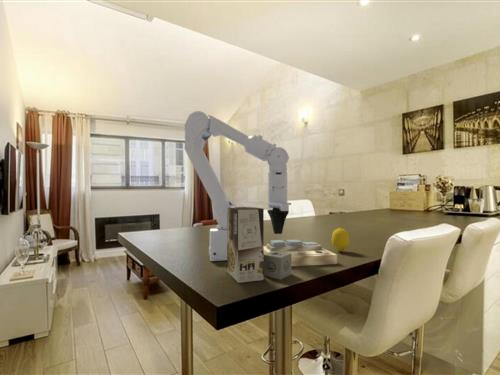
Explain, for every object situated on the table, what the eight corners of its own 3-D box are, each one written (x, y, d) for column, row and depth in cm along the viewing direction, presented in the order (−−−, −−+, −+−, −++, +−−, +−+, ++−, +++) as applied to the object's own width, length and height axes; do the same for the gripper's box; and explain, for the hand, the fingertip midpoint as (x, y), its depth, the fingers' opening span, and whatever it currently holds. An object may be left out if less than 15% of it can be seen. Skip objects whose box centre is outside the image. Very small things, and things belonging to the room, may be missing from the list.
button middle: (290, 247, 79) (290, 242, 79) (286, 244, 83) (286, 239, 83) (301, 246, 80) (301, 241, 80) (297, 244, 83) (297, 239, 83)
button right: (306, 249, 80) (306, 244, 80) (301, 247, 84) (301, 242, 84) (317, 249, 81) (317, 244, 81) (312, 246, 84) (312, 241, 84)
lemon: (351, 253, 85) (351, 228, 86) (334, 253, 86) (334, 228, 86) (346, 249, 91) (346, 226, 91) (329, 249, 91) (329, 226, 91)
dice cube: (273, 270, 68) (273, 250, 68) (291, 274, 65) (291, 253, 65) (262, 275, 64) (262, 254, 64) (280, 279, 61) (280, 257, 61)
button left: (273, 247, 78) (273, 242, 78) (270, 245, 82) (270, 240, 82) (285, 247, 79) (285, 242, 79) (281, 244, 82) (281, 240, 82)
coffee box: (264, 280, 60) (264, 208, 60) (237, 283, 58) (237, 208, 58) (250, 269, 69) (250, 206, 69) (226, 271, 66) (226, 206, 67)
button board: (273, 267, 70) (273, 253, 70) (260, 254, 85) (260, 242, 85) (337, 263, 73) (336, 250, 74) (314, 251, 88) (314, 240, 88)
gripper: (299, 187, 74) (299, 237, 74) (283, 188, 88) (283, 229, 88) (274, 187, 73) (274, 238, 73) (262, 188, 87) (262, 230, 87)
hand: (277, 233), depth 80 cm, fingers closed
